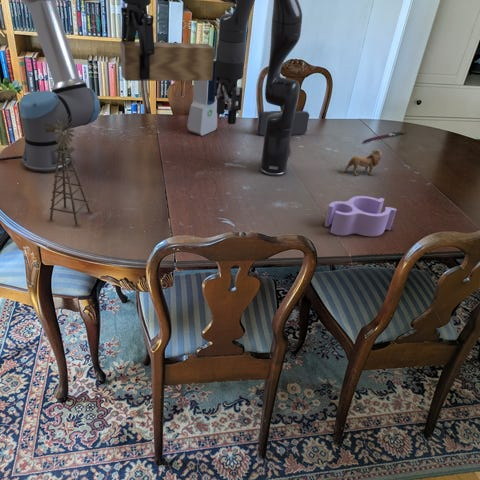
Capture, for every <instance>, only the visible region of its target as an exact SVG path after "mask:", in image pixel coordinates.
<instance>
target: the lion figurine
mask: <svg viewBox="0 0 480 480" xmlns="http://www.w3.org/2000/svg"><path fill="white" fill-rule="evenodd" d="M382 157H383V153H382V151H381V150H380V149H374V150H372V152H371V153H370V154H369V155H367V156H365V157H364V156H359V155H354V156H352V157H351V158H350V160H349V161H348V163H347V165H346V166H345V168H344V169H345V170H344V172H343V173H344V174H346V173H347V172H349V168H350V167H353V169H352V172H353V174H354V175H355V176H358V174H359V173H358V172H357V170H358V168H359V166H360V167H361V168H364V170H363V171H364V172H365V173H368V175H369V176H372V175H373V173H372V171H373V169H374V167H376V166H378V165H379V164H380V161H381V159H382ZM368 168H369V169H368Z"/></svg>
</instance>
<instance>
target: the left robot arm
mask: <svg viewBox="0 0 480 480" xmlns="http://www.w3.org/2000/svg"><path fill="white" fill-rule="evenodd" d="M20 2H21V3H22V4H23V5H25V6H26V7H27V8H28V11H29V15H30V17H31V20H32V23H33V26H34V28H35V32H36V34H37V39H38V41H39V44H40V46H41V49H42V53H43V55H44V58H45V61H46V64H47V67H48V70H49V73H50V76H51V78H52V81H53V85H52V87H51V90H41V91H40V90H37V91H32V92H29V93H26V94H24V95H23V96H22V97H21V98H20V100H19V103H18V104H19V116H20V119H21V125H22V132H23V137H24V148H23V153H22V155H17V156H16V155H15V156H6V157H1V158H0V162H5V161H13V160H21V161H22V166H23V168H24V169H25V170H27V171H29V172H33V173H39V174H46V173H56V165H57V162H56V159H57V157H58V153H57V152H53V151H52V150H54V149H56V148H57V147H59V146H58V145H57V144H58V142H59V141H58V142H56V139H57V138H58V137H59V136H60V135H59V136H58V137H56V138H55V135H56V134H58V132H45V125H44V123H45V124H49V125H52V126H54V127H56V125H55V124H57V125H58V126H59V123H58V122H57V119H58V120H59V122H60V124H61V125H62V123H63V121H62V123H61V120H63V118H64V125H63V126H64V128H63V129H64V130H65V131H67V129H66V128H67V127H65V125H67V123H68V120H69V118H70V116H71V118H70V120H69V123H70V122H71V121H72V119H73V121H72V123H71V124H70V125H69V123H68V125H69V126H68V125H67V126H68V127H70V126H71V125H73V124H74V125H73V127H71V128H70V129H69V130H72V129H75V128H78V127H82V126H87V125H88V124H91V123H94V122H95V121H96V120H97V119H98V118H99V115H100V111H101V103H100V99H99V96H98V94H97V93H96V92H95V91H94V90H93V89H92V88H89V87H88V84H87V82H86V81H85V80H83V79H81V77H80V75H79V70H78V69H77V65H76V62H75V59H74V56H73V53H72V50H71V49H72V48H71V47H70V44H69V41H68V38H67V34H66V31H65V28H64V25H63V22H62V18H61V16H60V13H59V9H58V6H57V3H56V2H57V0H20ZM122 2H123V3H124V4H126V6H125V7H120V12H121V38H120V39H121V40H120V41H130V42H136V38H137V37H138V42H139V43H140V49H141V54H139V55H140V79H141V80H143V79H150V55H154V53H155V52H154V42H155V37H154V19H155V18H154V17H155V16H154V15H151V14H148V9H147V6H149V5H150V4H151V3H152V0H122ZM144 50H145V51H144ZM62 113H63V117H62ZM65 113H66V119H65ZM68 114H69V115H68ZM67 115H68V119H67ZM59 116H60V117H61V120H60V117H59ZM66 120H67V123H66ZM63 126H62V127H63ZM60 127H61V126H60ZM62 127H61V128H62ZM56 129H58V128H57V127H56ZM59 133H60V132H59ZM59 140H60V139H59ZM64 151H66V150H64ZM61 155H62V153H60V156H61ZM65 156H67V157H69V156H68V154H65ZM67 160H69V158H66V161H67ZM59 161H62V157H61V158H60V159H59ZM60 163H61V162H59V164H60ZM70 166H71V162H70V161H69V162H68V163H67V167H68V168H69V167H70ZM64 169H66V168H65V163H64ZM60 171H62V164H61V165H60V166H59V168H58V172H60Z"/></svg>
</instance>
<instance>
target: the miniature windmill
mask: <svg viewBox="0 0 480 480" xmlns="http://www.w3.org/2000/svg"><path fill="white" fill-rule="evenodd" d="M68 115H69V114H68ZM68 115H67V119H68ZM59 117H60V116H59ZM62 117H63V113H62ZM70 118H71V116H70ZM70 118H69V120H70ZM65 119H66V113H65ZM60 120H61V117H60ZM69 120H68V123H69ZM62 121H63V123H62ZM72 121H73V119H72ZM72 121H71V122H70V123H69V125H70V124H71V123H72ZM57 122H58V123H59V126H58V125H57V124H55V125H56V127H57V128H58V129H56V127H54V126H52V125H49V124H45V123H44V125H45V132H58V134H56V135H55V138H56V137H58V136H59V135H60V136H59V137H58V138H57V139H56V142H58V141H59V142H58V144H57V145H58V146H59V147H57V148H56V149H54V150H52V151H53V152H57V153H58V157H57V159H56V162H57V165H56V172H54V173H55V174H53V178H54V182H53V184H52V186H53V188H52V189H53V190H52V192H51V194H52V198H51V199H50V201H51V204H50V207H49V210H50V214H49V221H51V222H52V221H53V219H54V211H55V212H60V213H61V212H63V213H67V214H72V215H73V219H74V225H75V227H76V226H79V221H78V217H77V214H78V213H79V212H80V211H81V210H82V209H83V208H84V207H85V206H86V209H87V212H88V213H89V214H91V213H92V210H91V208H90V205H89V202H90V201H89V200H87V197H86V194H85V191H84V189H83V187H84V186H83V184H81V180H80V177H79V175H78V171H77V169H76V167H75V163H74V161H73V159H74V158H73V157H72V156H71V153H72V152H74V151H75V150H76V149H77V148H75V147H74V146H70V145H71V143H70V142H73V139H72V138H73V137H74V134H73V133H74V131H75V128H71V127H73V125H74V124H73V125H71V126H70V127H68V126H69V125H68V123H67V120H66V123H67V125H68V126H67V125H65V127H67V128H66V129H67V130H64V129H63V128H64V126H63V125H64V118H63V120H61V123H62V125H61V124H60V122H59V120H58V119H57ZM60 126H61V127H62V126H63V127H62V128H61V127H60ZM70 128H71V129H70ZM59 132H60V133H59ZM59 139H60V140H59ZM69 146H70V147H69ZM64 150H66V151H64ZM60 153H62V155H61V156H60ZM65 154H68V156H69V157H67V156H65ZM61 157H62V161H59V159H60V158H61ZM66 158H69V160H67V161H66ZM69 161H70V162H71V164H70V166H71V167H72V169H68V168H69V166H68V167H67V163H68V162H69ZM59 162H61V163H60V164H59ZM64 163H65V169H64ZM61 164H62V170H60V171H58V168H59V166H60V165H61ZM70 172H71V173H72V172H73V173H72V174H71V175H70ZM61 173H62V175H60V174H61ZM74 176H75V179H76V181H77V183H74V182H73V183H72V182H71V179H72V178H73V177H74ZM58 178H59V179H58ZM66 180H67V182H66ZM60 181H62V183H61V184H60V185H59V186H58V187H57V184H58V183H59V182H60ZM66 185H67V186H68V190H69V191H68V192H67V190H66ZM72 186H77V187H78V188H77V189H75V190H74V191H73V189H72ZM60 188H62V190H61V191H59V189H60ZM79 190H80V192H81V195H82V198H83V199H80V198H75V197H74V195H75V194H76V193H77V192H78V191H79ZM60 195H63V196H62V197H60V199H59V200H57V202H55V201H56V198H58V196H60ZM67 199H68V200H70V202H71V208H72V211H70V210H64V209H67ZM62 200H63V208H64V209H59V208H55V206H57V205H58V204H59V203H61V201H62ZM75 201H79V202H84V203H83V204H82V205H81V206H80V207H79V208H78V209H77V210H76V207H75Z"/></svg>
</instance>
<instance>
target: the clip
mask: <svg viewBox="0 0 480 480" xmlns="http://www.w3.org/2000/svg"><path fill="white" fill-rule="evenodd" d="M384 201H385V198H383V197H379V198H376V197H373V196H368V195H357V196H352V197H350V198H349V200H347V201H339V200H338V201H337V200H335V201H332V202H330V203H329V205H328V208H327V214H326V218H325V222H324V227H326V228H329V227H330V226H331V227H330V233H331V234H333V235H336V236H348V235H353V234H356V235H360V236H364V237H365V236H366V237H378V236H381V235H382V234H384V232H385V230H387V231H391V229H392V226H393V222H394V219H395V216H396V213H397V210H398V209H397V208H395V207H391V206H385V207H384V211H383V212H382V209H383V206H384Z"/></svg>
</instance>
